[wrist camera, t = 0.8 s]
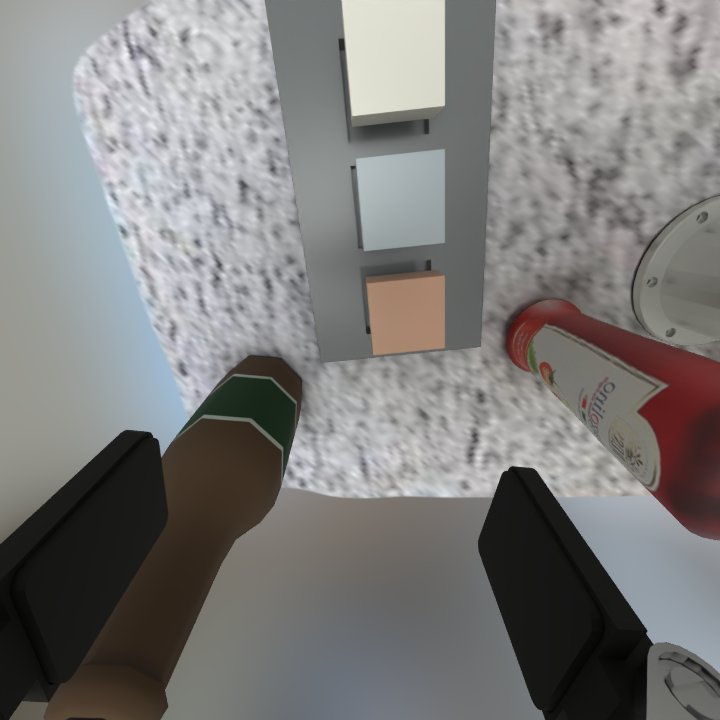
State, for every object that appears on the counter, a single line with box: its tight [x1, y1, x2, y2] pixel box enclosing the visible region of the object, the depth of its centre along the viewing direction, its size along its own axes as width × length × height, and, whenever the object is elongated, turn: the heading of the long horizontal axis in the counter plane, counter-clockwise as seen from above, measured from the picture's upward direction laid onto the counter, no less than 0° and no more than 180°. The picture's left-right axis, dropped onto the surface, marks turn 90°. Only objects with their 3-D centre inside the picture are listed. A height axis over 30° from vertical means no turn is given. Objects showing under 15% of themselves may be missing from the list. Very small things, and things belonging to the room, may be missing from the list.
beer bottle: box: [44, 356, 302, 720], centre depth 22 cm, size 8×8×24 cm
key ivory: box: [341, 0, 445, 127], centre depth 19 cm, size 5×5×4 cm
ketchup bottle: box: [507, 299, 720, 540], centre depth 19 cm, size 7×7×28 cm
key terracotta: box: [366, 270, 445, 355], centre depth 25 cm, size 5×5×4 cm
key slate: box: [356, 149, 445, 251], centre depth 22 cm, size 5×5×4 cm
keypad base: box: [265, 0, 496, 363], centre depth 26 cm, size 14×24×2 cm, turn 6°
